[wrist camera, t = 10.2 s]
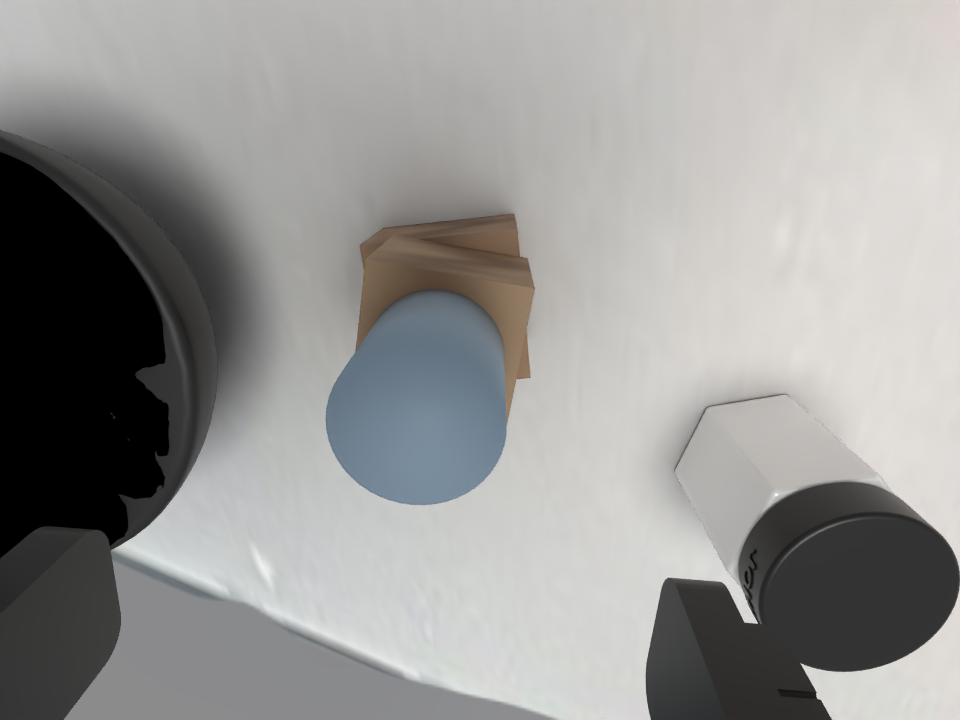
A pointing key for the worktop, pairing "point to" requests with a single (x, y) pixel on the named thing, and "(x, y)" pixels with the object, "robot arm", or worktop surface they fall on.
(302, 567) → the worktop surface
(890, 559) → the jar
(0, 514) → the coal bowl
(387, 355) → the blue grey cylinder
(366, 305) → the tower mid
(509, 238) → the tower base
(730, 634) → the robot arm
